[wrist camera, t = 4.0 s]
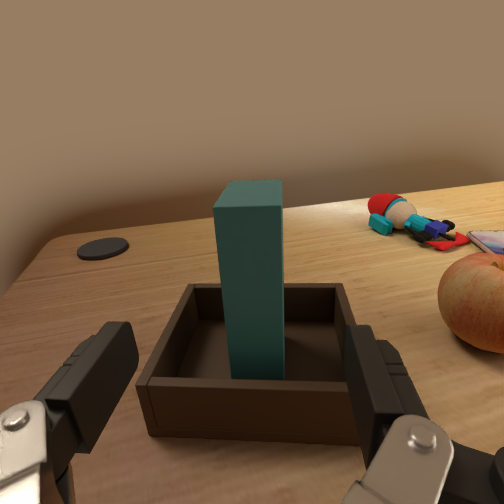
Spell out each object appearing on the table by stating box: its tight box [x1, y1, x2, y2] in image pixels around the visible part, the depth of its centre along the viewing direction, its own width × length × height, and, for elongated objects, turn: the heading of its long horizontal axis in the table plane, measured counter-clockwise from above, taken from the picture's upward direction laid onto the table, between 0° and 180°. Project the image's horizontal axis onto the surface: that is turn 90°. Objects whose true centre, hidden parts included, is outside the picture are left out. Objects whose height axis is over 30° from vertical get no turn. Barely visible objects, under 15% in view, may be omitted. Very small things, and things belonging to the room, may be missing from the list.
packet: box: [213, 179, 285, 380], centre depth 21 cm, size 4×6×13 cm, turn 175°
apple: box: [438, 248, 504, 354], centre depth 25 cm, size 8×8×8 cm
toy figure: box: [368, 193, 470, 250], centre depth 47 cm, size 8×5×15 cm
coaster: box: [77, 238, 128, 260], centre depth 48 cm, size 7×7×1 cm
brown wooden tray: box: [135, 283, 361, 446], centre depth 23 cm, size 13×11×4 cm
